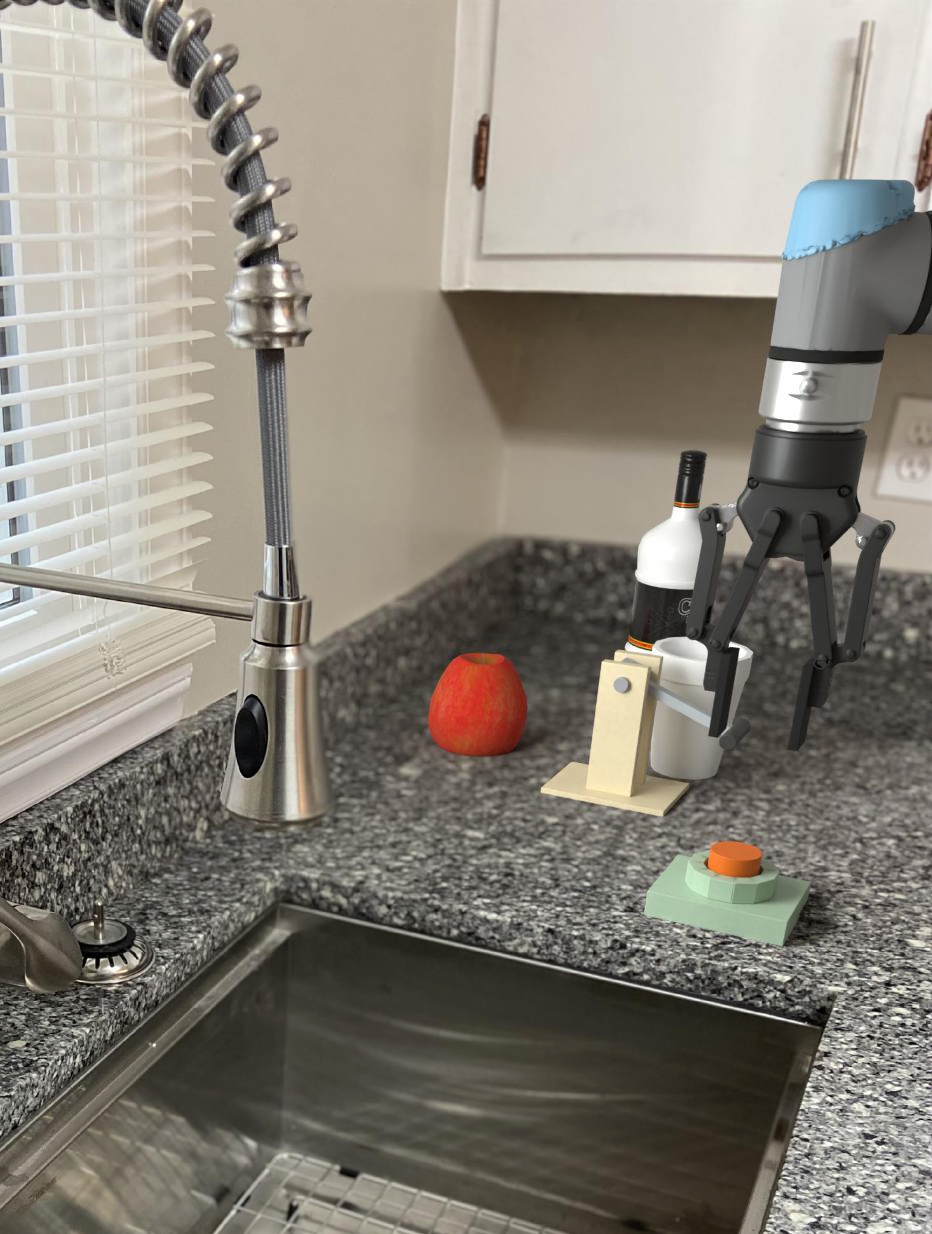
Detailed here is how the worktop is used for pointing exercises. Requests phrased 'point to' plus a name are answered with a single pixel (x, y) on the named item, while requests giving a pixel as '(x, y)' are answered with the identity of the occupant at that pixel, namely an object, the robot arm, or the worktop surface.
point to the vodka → (669, 563)
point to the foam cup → (676, 736)
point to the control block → (728, 899)
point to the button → (734, 859)
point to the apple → (478, 706)
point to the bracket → (621, 743)
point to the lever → (697, 713)
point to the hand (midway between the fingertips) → (756, 738)
